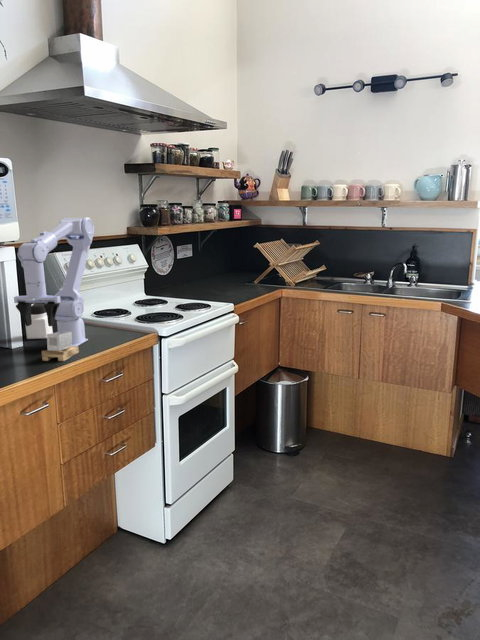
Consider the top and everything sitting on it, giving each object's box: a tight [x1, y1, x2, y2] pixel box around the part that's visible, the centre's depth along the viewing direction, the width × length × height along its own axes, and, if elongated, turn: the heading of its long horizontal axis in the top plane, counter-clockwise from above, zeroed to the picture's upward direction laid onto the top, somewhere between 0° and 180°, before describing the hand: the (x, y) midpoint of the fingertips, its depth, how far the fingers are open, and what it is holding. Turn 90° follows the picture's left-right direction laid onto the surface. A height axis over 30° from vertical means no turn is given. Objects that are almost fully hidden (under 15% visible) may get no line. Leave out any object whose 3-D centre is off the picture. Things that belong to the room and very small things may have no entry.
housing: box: [46, 331, 72, 351], centre depth 164 cm, size 8×4×5 cm, turn 170°
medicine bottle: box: [25, 303, 54, 340], centre depth 190 cm, size 7×7×12 cm
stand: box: [41, 346, 80, 362], centre depth 165 cm, size 10×7×3 cm
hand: (40, 325), depth 164 cm, fingers open, 7 cm apart
